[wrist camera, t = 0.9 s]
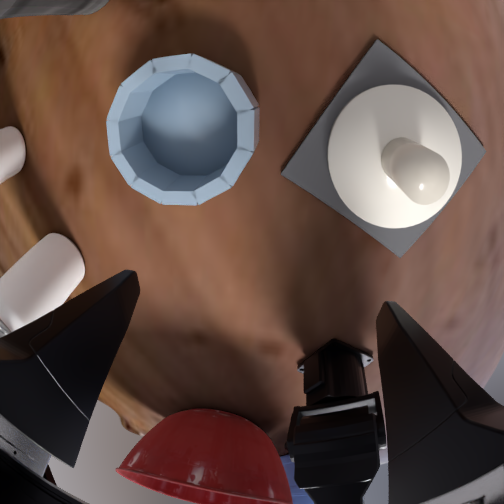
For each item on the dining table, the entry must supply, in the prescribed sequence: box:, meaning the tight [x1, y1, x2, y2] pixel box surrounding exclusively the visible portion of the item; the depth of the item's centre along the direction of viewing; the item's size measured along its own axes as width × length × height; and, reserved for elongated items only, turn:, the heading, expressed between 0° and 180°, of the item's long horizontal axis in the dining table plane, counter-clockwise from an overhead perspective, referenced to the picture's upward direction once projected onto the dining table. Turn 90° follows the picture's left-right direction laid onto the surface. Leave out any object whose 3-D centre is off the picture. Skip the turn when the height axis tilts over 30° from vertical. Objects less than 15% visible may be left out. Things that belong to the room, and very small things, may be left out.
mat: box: [281, 39, 486, 258], centre depth 17 cm, size 12×12×1 cm
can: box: [0, 233, 85, 338], centre depth 21 cm, size 6×6×12 cm
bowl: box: [106, 54, 260, 205], centre depth 16 cm, size 9×9×4 cm
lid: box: [327, 85, 462, 228], centre depth 15 cm, size 10×10×5 cm
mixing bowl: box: [116, 409, 293, 504], centre depth 37 cm, size 28×28×16 cm
